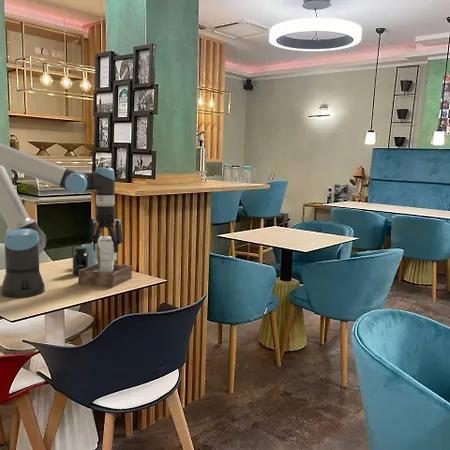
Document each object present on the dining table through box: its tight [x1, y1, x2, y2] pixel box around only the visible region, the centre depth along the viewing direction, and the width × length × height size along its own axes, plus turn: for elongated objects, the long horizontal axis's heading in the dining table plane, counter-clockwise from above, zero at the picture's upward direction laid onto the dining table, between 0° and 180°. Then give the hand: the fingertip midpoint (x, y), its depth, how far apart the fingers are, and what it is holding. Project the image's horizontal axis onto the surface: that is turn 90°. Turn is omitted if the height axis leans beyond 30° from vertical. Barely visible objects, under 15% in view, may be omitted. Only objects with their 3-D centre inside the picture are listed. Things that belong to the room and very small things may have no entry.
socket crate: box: [77, 262, 133, 288], centre depth 191 cm, size 16×16×6 cm
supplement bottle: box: [72, 246, 89, 276], centre depth 200 cm, size 7×7×12 cm
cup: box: [81, 243, 98, 266], centre depth 215 cm, size 8×8×10 cm
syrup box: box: [97, 235, 115, 272], centre depth 190 cm, size 6×6×14 cm
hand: (105, 259), depth 190 cm, fingers closed on syrup box, 7 cm apart
